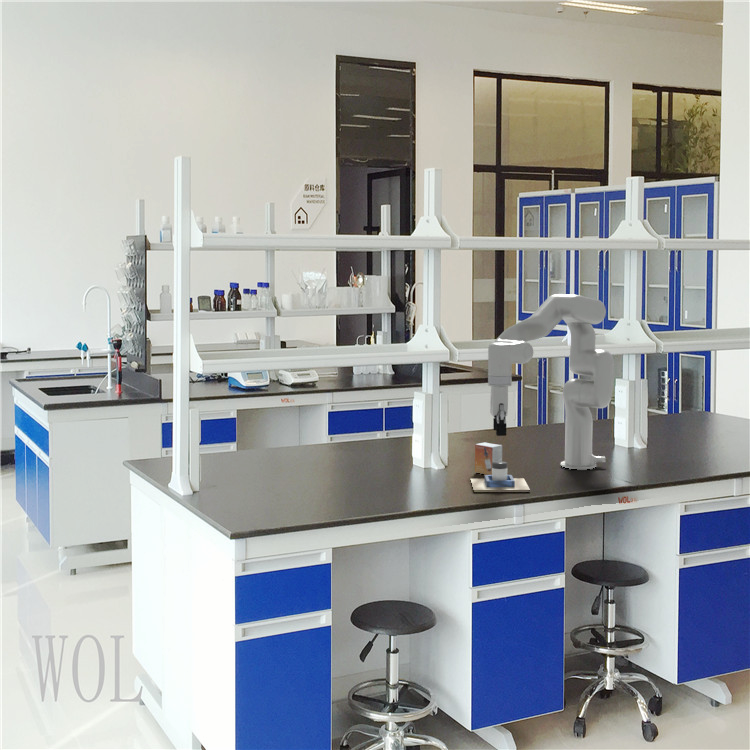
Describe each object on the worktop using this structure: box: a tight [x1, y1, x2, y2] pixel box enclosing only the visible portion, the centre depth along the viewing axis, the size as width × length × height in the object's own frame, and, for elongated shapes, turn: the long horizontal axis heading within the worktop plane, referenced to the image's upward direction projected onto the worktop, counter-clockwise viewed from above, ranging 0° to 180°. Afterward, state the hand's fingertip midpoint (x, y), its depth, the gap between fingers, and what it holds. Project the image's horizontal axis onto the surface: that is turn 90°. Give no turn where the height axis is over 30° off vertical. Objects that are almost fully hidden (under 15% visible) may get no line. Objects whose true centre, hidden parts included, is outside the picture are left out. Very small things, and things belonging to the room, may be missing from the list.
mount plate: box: [469, 474, 531, 491], centre depth 324 cm, size 18×16×3 cm
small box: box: [474, 441, 503, 475], centre depth 342 cm, size 8×6×10 cm
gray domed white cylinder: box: [492, 460, 508, 480], centre depth 323 cm, size 5×5×7 cm
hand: (499, 432), depth 322 cm, fingers open, 9 cm apart
